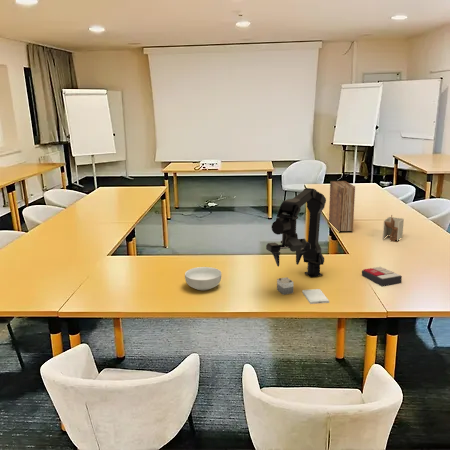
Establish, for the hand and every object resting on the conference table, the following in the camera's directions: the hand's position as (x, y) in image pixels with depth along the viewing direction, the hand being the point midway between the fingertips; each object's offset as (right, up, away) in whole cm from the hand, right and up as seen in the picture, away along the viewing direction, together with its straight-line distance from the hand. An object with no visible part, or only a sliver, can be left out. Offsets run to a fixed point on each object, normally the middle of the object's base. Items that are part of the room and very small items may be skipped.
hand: (287, 265), depth 193 cm
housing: (-1, -12, +5) cm, 13 cm away
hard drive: (+12, -14, -2) cm, 18 cm away
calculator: (+46, -8, +16) cm, 50 cm away
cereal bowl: (-37, -11, +12) cm, 40 cm away
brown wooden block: (+50, +15, +105) cm, 117 cm away
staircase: (+74, +8, +77) cm, 108 cm away
